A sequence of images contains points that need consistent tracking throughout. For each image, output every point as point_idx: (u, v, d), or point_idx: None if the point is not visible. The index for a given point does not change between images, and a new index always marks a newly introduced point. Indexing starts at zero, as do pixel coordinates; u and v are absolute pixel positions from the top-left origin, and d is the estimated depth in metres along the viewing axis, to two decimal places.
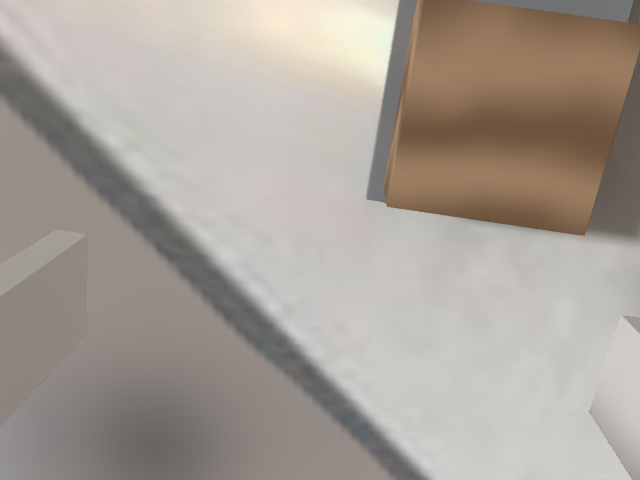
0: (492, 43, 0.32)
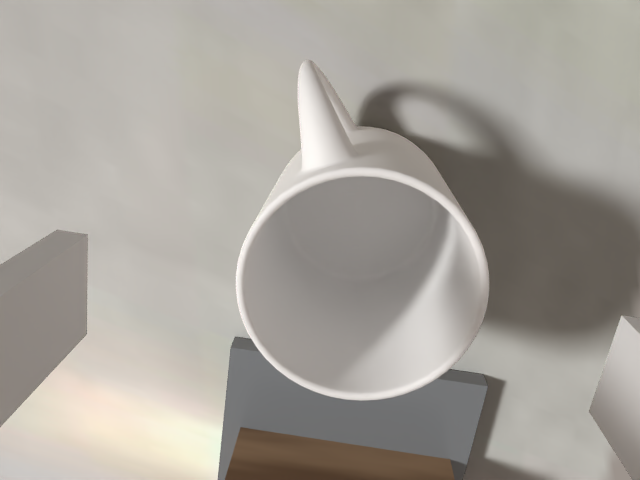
0: None
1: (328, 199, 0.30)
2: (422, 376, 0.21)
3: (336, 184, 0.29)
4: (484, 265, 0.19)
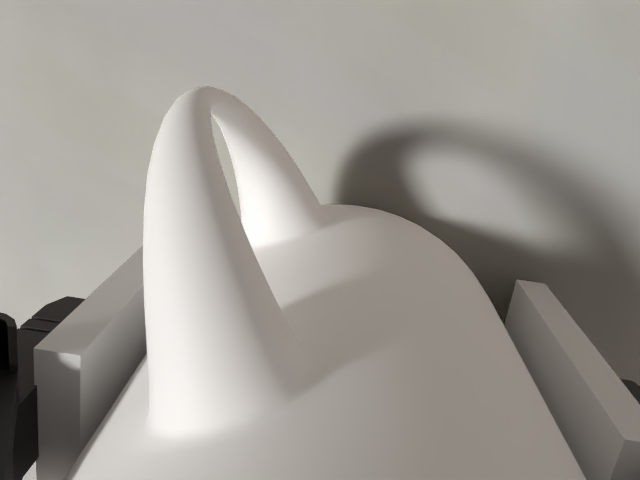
0: None
1: None
2: None
3: None
4: None
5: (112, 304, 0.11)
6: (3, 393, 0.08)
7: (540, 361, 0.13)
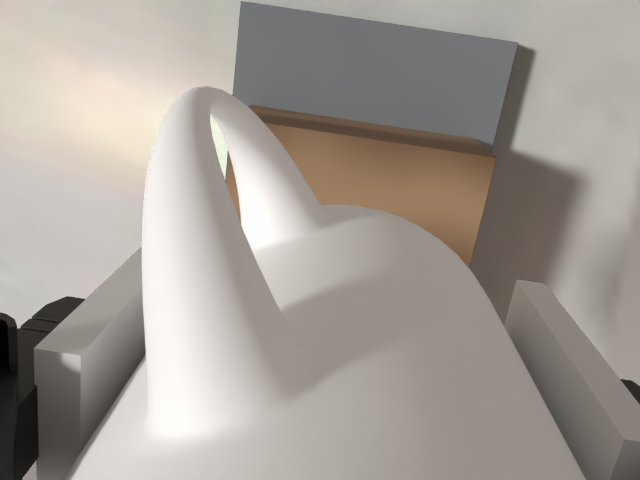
0: (316, 174, 0.27)
1: None
2: None
3: None
4: None
5: (112, 304, 0.11)
6: (3, 393, 0.08)
7: (539, 361, 0.13)
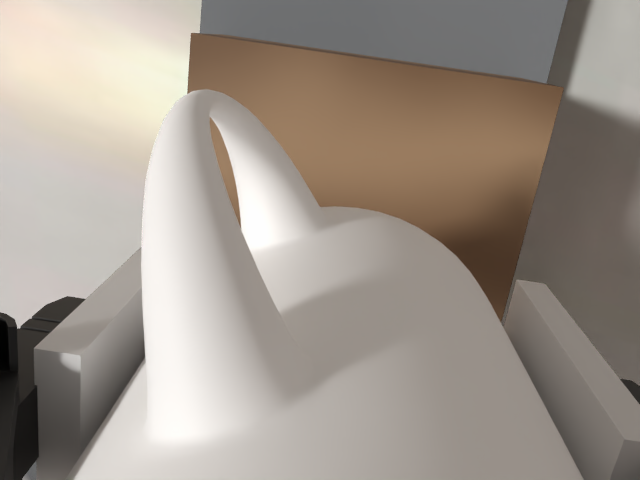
0: (309, 114, 0.19)
1: None
2: None
3: None
4: None
5: (112, 304, 0.11)
6: (3, 393, 0.08)
7: (539, 361, 0.13)
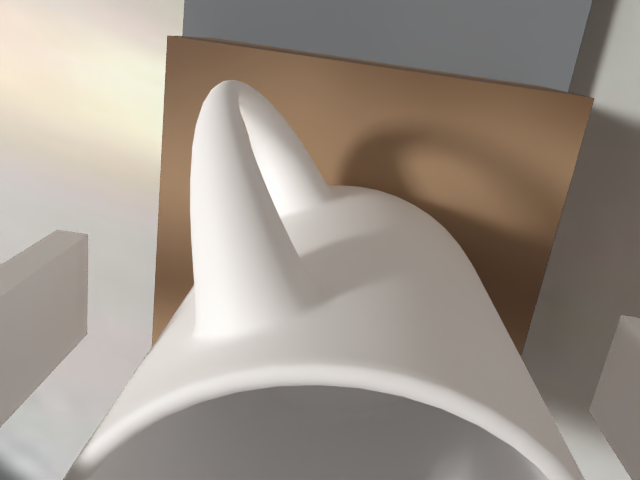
0: (303, 128, 0.17)
1: None
2: None
3: None
4: None
5: None
6: None
7: None
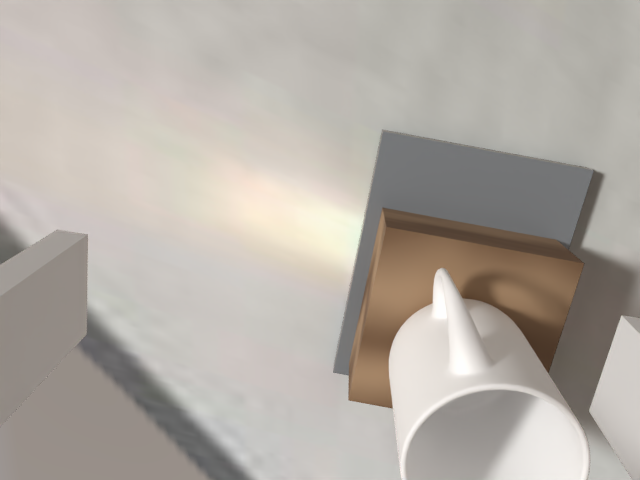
0: None
1: None
2: None
3: None
4: (588, 453, 0.26)
5: None
6: None
7: None
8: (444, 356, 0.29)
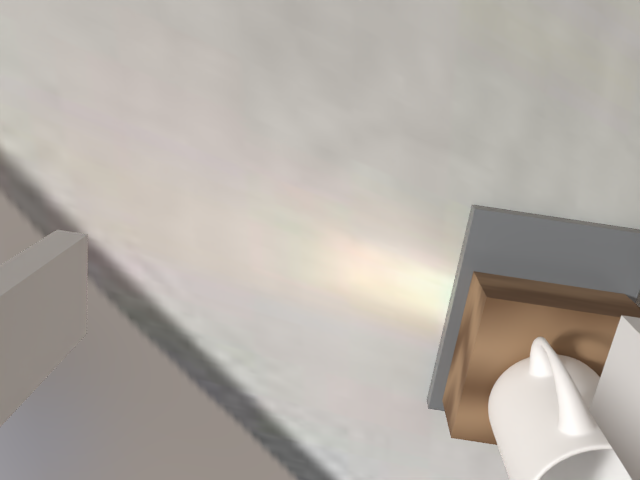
0: (537, 330, 0.42)
1: None
2: None
3: None
4: None
5: None
6: None
7: None
8: (551, 415, 0.36)
